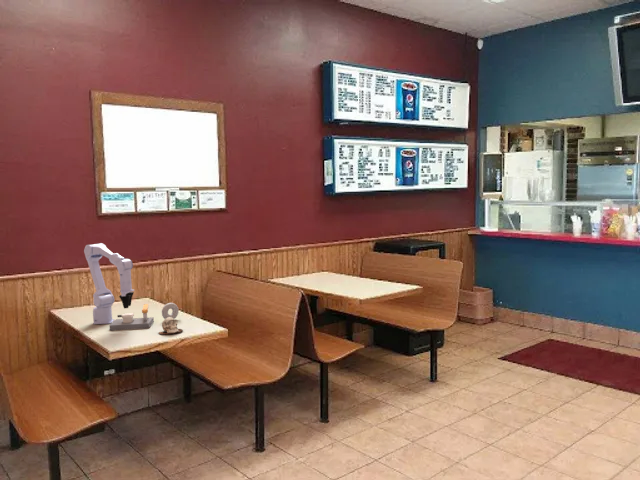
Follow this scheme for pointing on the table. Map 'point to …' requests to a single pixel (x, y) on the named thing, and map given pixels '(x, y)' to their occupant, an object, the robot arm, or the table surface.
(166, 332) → the skull
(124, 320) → the plug
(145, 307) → the orange paddle handle
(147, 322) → the socket block
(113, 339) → the table surface
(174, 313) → the donut
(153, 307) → the table surface
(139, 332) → the table surface
